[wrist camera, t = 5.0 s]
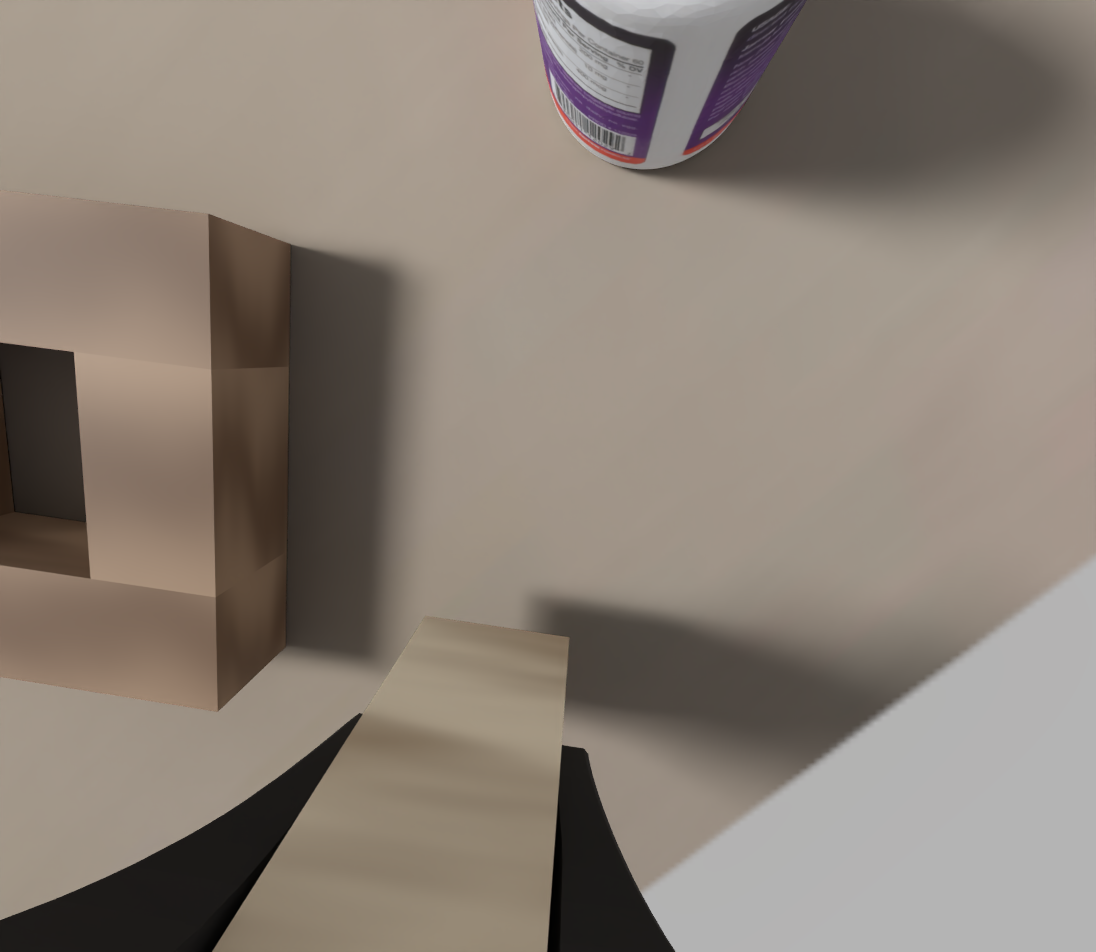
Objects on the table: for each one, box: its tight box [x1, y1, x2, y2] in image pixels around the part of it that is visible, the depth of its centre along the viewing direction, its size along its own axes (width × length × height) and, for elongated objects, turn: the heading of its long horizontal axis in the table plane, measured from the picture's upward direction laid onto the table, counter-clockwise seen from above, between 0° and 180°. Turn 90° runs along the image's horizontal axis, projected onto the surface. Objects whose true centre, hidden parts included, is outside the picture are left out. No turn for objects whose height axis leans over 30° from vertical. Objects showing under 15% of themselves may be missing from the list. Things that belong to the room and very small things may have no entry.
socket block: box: [0, 190, 291, 712], centre depth 16 cm, size 13×13×4 cm
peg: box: [212, 616, 569, 952], centre depth 11 cm, size 4×4×9 cm
